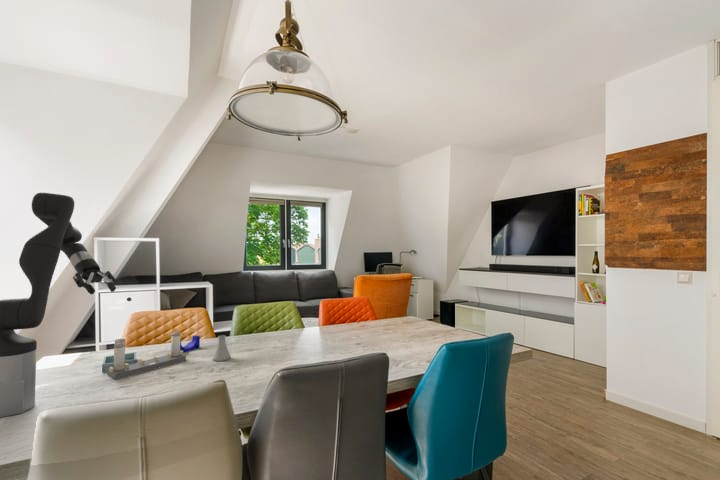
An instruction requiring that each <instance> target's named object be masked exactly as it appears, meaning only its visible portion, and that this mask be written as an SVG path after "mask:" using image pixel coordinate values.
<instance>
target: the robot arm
mask: <svg viewBox="0 0 720 480" xmlns="http://www.w3.org/2000/svg"><path fill="white" fill-rule="evenodd" d="M74 209H75V200H74V198H73V197H72V196H70V195H66V194H58V193H50V192H37V193H35V194H34V195H33V197H32V199H31V210H32V213H33V215H34V216H35V217H37V219H39V220H40V221H41V222H42V223H44V224H45V225H46V226H47V227H46V228H44V229H43V230H41V231H39V232H38V233H36V234H35V235H33V236H32V237H30V238H29V239H28V240H27V241H26V242H25V243H24V246H23V248H22V250H21V252H20V257H19V260H18V264H19V266H20V269H21V271H22V272H23V274H24V275H25V276H26V278H27V279H28V281H29V283H30V286H31V293H30V296H29V297H28V298H27V297H26V298H7V299H6V298H4V299H0V418H3V417H9V416H13V415H18V414H23V413H25V412H26V411H28V410H30V409H32V408H33V407H35V406H36V379H37V378H36V376H37V375H36V373H37V372H36V371H37V354H38V353H37V347H38V346H37V345H38V343H37V340H36V339H34V338H30V337H26V336H22V335H20V334H18V333H16V330H26V329H27V330H28V329H35V328H38V327H39V326H40V325H41V323H42V322H43V320H44V317H45V314H46V309H47V305H48V299H49V295H50V294H49V293H50V288H51V283H52V281H53V280H52V279H53V276H54V273H55V269H56V267H57V264H58V260H59V257H60V254H61V252H63V253H64V254H65V256H66V257H67V258H68V260H69V262H70V263H71V266H72V268H73V269H74V270H75V274H74V275H73V277H72V279H73V280H74V282H75V284H76V285H77V288H83V289H86V291H87V293H89V294H90V295H94V294H95V293H96V290H95V288H94V286H93V285H92V284H95V283H99V284H102V285H105V286H107V288H108V289H109V291H110V292H111V293H113V292H115V291H116V289H117V287H116V286H115V284H114V283H116V281H117V279H116V278H115V277H114V275H113V274H112V273H111V271H109V270H107V271H106V272H103V271H101V267H100V266H99V264H98V263H97V261H96V260H95V259H94V256H93V255H92V254H91V253H90V252H89V251H88V250H87V248H86V247H85V246H84V244H82V243H81V241H82V232H81V231H80V230H79V228H76V227H75V226H73V223H72V222H71V218H72V216H73V213H74Z"/></svg>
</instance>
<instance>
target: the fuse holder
mask: <svg viewBox="0 0 720 480" xmlns="http://www.w3.org/2000/svg"><path fill="white" fill-rule="evenodd" d="M186 360H187V356H186V355H185V353H184V351H181V350H180V356H178V357H172V354H171V352H170V353H167V355H166V354H165V355H162V356H156V355H155V356H153V358H150V359H146V360H144V359H140V361H136V363H132V364H127V363H125V369H124V370H122V371H114V368H112V367H109V369H108V372H106V373H107V375H108V377H110V378H112V379H114V380H119V379H122V378H126V377H129V376H133V375H136V374H137V375H138V374H141V373H145V372H148V371H152V370H156V369H160V368H164V367H167V366H171V365H175V364H178V363H182V362H185V361H186ZM159 367H160V368H159Z"/></svg>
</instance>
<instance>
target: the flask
mask: <svg viewBox="0 0 720 480" xmlns="http://www.w3.org/2000/svg"><path fill="white" fill-rule="evenodd" d="M217 338H218V342H217V346H216V349H215V351H214V354H213V356H212V361H214V362H223V361H227V360H229V359H231V358H232V356H231V353H230V352H229V350H228V349H229V348H228V346H227V342H226V338H227V336H226V335H223V334H222V335H218V336H217Z"/></svg>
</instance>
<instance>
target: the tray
mask: <svg viewBox="0 0 720 480" xmlns="http://www.w3.org/2000/svg"><path fill="white" fill-rule="evenodd" d="M125 363H127V364H132V363H137V352H136V351H135V352H128V353H127V352H126V353H125ZM109 367H112V368H113V367H114V354H113V355H108V356H107V355H105V356H104V357H103V361H102V366H101V370H102V371H101V373H107V372H108V369H109Z"/></svg>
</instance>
